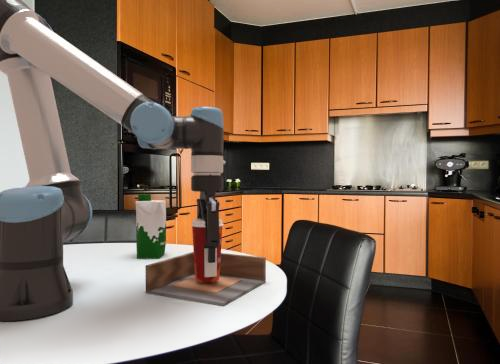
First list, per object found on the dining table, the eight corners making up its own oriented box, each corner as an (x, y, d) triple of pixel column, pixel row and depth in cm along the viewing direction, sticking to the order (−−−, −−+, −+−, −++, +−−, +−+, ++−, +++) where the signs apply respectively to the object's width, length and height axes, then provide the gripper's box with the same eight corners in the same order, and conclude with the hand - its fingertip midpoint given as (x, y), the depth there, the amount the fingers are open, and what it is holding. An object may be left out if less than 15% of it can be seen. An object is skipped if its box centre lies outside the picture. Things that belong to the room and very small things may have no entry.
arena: (223, 306, 78) (223, 275, 78) (145, 292, 87) (145, 265, 87) (265, 282, 96) (265, 257, 96) (197, 273, 105) (197, 250, 105)
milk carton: (141, 253, 132) (141, 193, 132) (168, 253, 132) (168, 193, 131) (133, 259, 123) (133, 195, 123) (162, 259, 123) (161, 195, 123)
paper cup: (230, 279, 92) (230, 219, 92) (202, 285, 87) (202, 222, 87) (211, 273, 98) (211, 217, 98) (184, 278, 93) (184, 219, 93)
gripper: (234, 174, 84) (234, 281, 84) (213, 174, 103) (213, 263, 103) (199, 174, 82) (199, 284, 82) (184, 174, 100) (184, 264, 101)
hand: (207, 272), depth 93 cm, fingers closed on paper cup, 7 cm apart
